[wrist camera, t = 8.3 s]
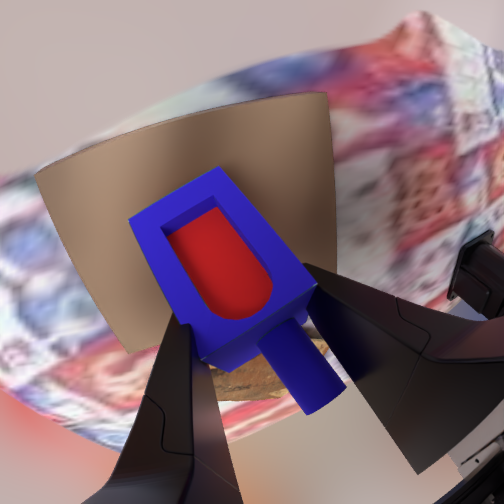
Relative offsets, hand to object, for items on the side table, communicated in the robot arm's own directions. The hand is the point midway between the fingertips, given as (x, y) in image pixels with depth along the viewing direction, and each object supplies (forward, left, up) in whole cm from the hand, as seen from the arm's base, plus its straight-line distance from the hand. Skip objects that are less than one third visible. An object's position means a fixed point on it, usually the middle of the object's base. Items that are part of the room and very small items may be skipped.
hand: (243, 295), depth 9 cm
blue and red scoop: (+1, 0, -3) cm, 3 cm away
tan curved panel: (0, 0, -5) cm, 5 cm away
